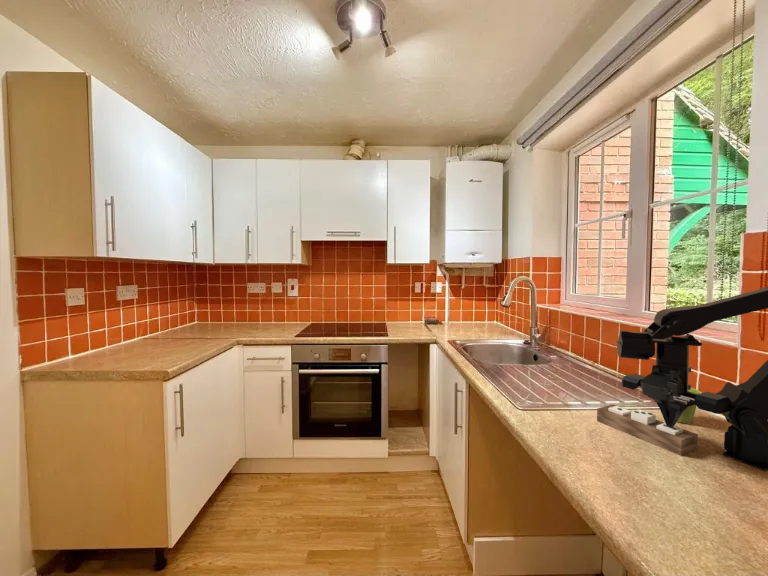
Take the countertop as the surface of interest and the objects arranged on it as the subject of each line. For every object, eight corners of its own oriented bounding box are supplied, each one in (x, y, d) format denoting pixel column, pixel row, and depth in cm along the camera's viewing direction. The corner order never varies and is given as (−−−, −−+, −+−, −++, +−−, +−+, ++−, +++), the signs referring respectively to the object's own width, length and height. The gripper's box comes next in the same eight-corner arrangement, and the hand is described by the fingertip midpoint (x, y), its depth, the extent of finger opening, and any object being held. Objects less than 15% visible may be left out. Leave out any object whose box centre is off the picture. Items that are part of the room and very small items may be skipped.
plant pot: (690, 430, 81) (691, 397, 81) (648, 415, 90) (648, 385, 89) (708, 423, 85) (709, 392, 85) (665, 409, 93) (666, 381, 93)
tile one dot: (630, 419, 83) (631, 410, 83) (622, 422, 82) (622, 412, 82) (616, 414, 86) (616, 405, 86) (608, 416, 85) (608, 407, 85)
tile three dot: (655, 424, 78) (655, 414, 78) (647, 426, 77) (647, 416, 77) (639, 418, 81) (639, 408, 81) (630, 420, 80) (631, 410, 80)
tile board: (697, 448, 72) (697, 434, 72) (681, 455, 69) (681, 440, 69) (612, 416, 89) (613, 404, 89) (596, 420, 86) (597, 408, 86)
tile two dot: (683, 439, 73) (683, 428, 73) (674, 442, 72) (675, 431, 72) (664, 432, 76) (664, 422, 76) (656, 435, 75) (656, 424, 75)
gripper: (608, 356, 79) (607, 416, 79) (707, 378, 62) (705, 454, 62) (634, 352, 83) (633, 409, 84) (734, 371, 66) (732, 443, 66)
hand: (670, 426), depth 74 cm, fingers closed, pressing on tile two dot
